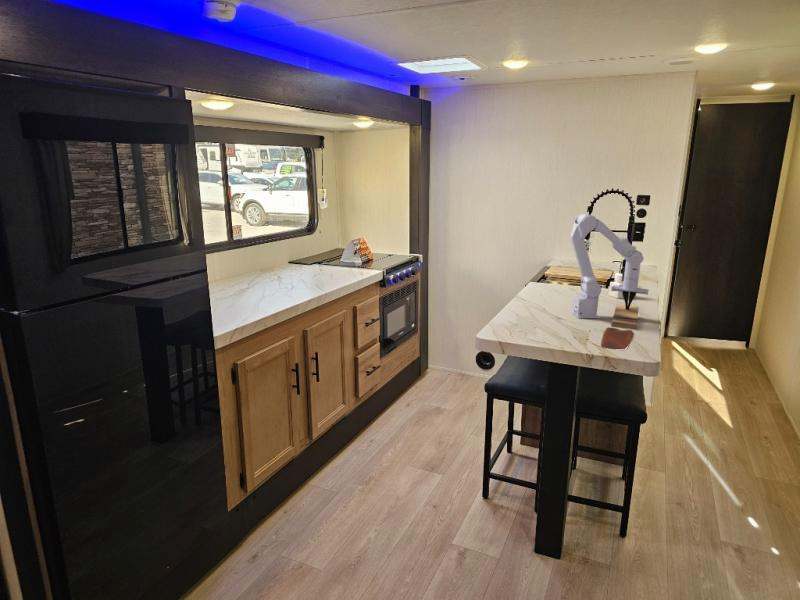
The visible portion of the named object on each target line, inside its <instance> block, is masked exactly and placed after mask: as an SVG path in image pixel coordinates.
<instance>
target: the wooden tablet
mask: <svg viewBox="0 0 800 600" xmlns="http://www.w3.org/2000/svg"><path fill="white" fill-rule="evenodd" d="M633 333H634V332H633V330H632V329H625V330H624V329H618V328H617V327H606V328H605V329H604V331H603V334H602V338H601V341H600V342H601V343H600V347H601V348H603V349H607V348H608V350H609V349H610V350H616V349H625V348H626V347H627V346H628V344H629V345H630V342H631V340H632V337H633ZM628 347H629V346H628Z"/></svg>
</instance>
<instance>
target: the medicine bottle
mask: <svg viewBox="0 0 800 600" xmlns="http://www.w3.org/2000/svg"><path fill="white" fill-rule="evenodd" d="M624 273H625V272H616V273H615V274H614V281H610V283H609V289H608V290H609V291H608V296H609V297H612V298H615V299H624V298H623V295H622V293H623V292H620V291H611V287H612V286H623V281H624ZM629 295H630V292H629ZM628 299H629V297H628Z"/></svg>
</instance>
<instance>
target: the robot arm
mask: <svg viewBox="0 0 800 600" xmlns="http://www.w3.org/2000/svg"><path fill="white" fill-rule="evenodd" d="M591 231H595V232H599V233H600V234H601V235H602V236H603V237H605V238H606V239H607V240H608V241H609V242H611V243H612V245H611V247H612V249H614V250H615V251H616V252H617V253H619V255H621V256H622V258H624V260H625V267H624V272H623V273H624V281H623V286H612V287H611V291H620V292H623V293H622V295H623V298H622V299H623V302H624V304H625V306H626V309H628V310H629V307H630V306H631V305H632V302H633V301H634V299H635V298H636V296H637V294H639V295H640V294H642V295H646V296H648V295H649V293H650V292H649V288H642V287H639V286H638V285H639V279H640V278H639V277H640V271H641V263H643V262H644V256H643V253H642V252H641V251H639V250H638V249H637V247H636V246H635V245H633V244H631V242H629V239H628V238H627V237H623V236H620V237H619V236H617V235H616V234H615V232H614V231H612V230H611V229H610V228H609V227H608V226H607V225H606V224H605V223H604V222H603V221H602V220H600V219H598V218H596V216H595V215H592V214H590V213H589V214H588V213H586V212H583V213H580V214H579V215H578V216H577V217H576V219H575V220H574V221H573V226H572V230H571V233H570V241H571V244H572V247H573V250H574V251H573V252H574V255H575V258H576V262H577V265H578V268H579V269H578V270H579V272H580V290H581V291H582V292H581V293H580V295H576V296H575V297H574V300H573V308H572V309H573V310H572V311H571V312H572V313H571V314H572V315H574V316H575V317H576V318H578V319H601V316H600V315H598V306H599V297H600V294H601V293H602V287H601V284H599V283H598V281H597V277H596V276H595V275H594V271H593V268H592V264H591V261H590V257H589V253H588V250H587V245H586V242H585V238H586V237H587V235H588V234H589V233H590V232H591ZM629 292H630V295H629ZM628 297H629V298H628Z"/></svg>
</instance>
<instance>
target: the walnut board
mask: <svg viewBox="0 0 800 600" xmlns="http://www.w3.org/2000/svg"><path fill="white" fill-rule="evenodd" d="M637 321H638V317H637V318H629V317H622V316H614V315H613V318H612V320H611V325H610V326H611V327H612V328H622V329H628V328H630V329H629V330H636V329H637V328H636V327H637Z"/></svg>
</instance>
